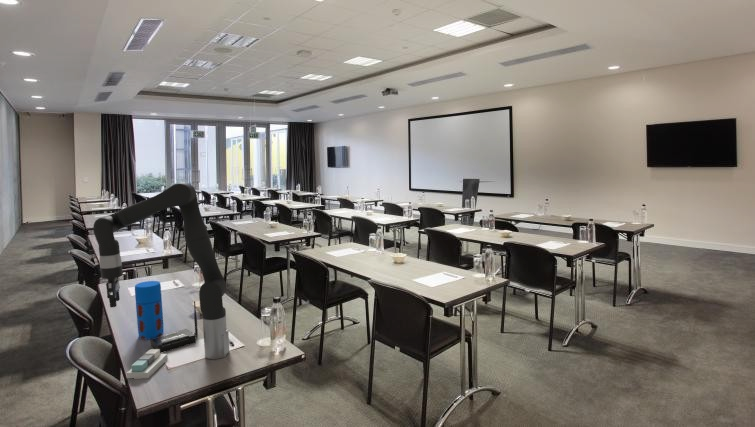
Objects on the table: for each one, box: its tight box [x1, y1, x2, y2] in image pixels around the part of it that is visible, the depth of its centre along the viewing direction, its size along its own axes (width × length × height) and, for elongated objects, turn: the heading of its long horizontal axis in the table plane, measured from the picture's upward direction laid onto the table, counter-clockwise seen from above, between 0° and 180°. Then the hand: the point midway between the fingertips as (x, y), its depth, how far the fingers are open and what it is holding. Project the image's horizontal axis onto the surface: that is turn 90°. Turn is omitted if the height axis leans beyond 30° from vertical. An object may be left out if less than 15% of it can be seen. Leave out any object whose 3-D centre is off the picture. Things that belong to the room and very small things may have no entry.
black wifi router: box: [149, 301, 199, 354], centre depth 196 cm, size 20×14×17 cm
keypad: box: [126, 353, 169, 380], centre depth 173 cm, size 8×16×2 cm, turn 1°
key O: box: [131, 359, 148, 372], centre depth 168 cm, size 4×4×3 cm
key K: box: [144, 348, 161, 360], centre depth 177 cm, size 4×4×3 cm
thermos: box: [134, 280, 164, 340], centre depth 205 cm, size 11×11×25 cm
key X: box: [137, 354, 154, 366], centre depth 172 cm, size 4×4×3 cm
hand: (115, 303), depth 177 cm, fingers open, 8 cm apart
